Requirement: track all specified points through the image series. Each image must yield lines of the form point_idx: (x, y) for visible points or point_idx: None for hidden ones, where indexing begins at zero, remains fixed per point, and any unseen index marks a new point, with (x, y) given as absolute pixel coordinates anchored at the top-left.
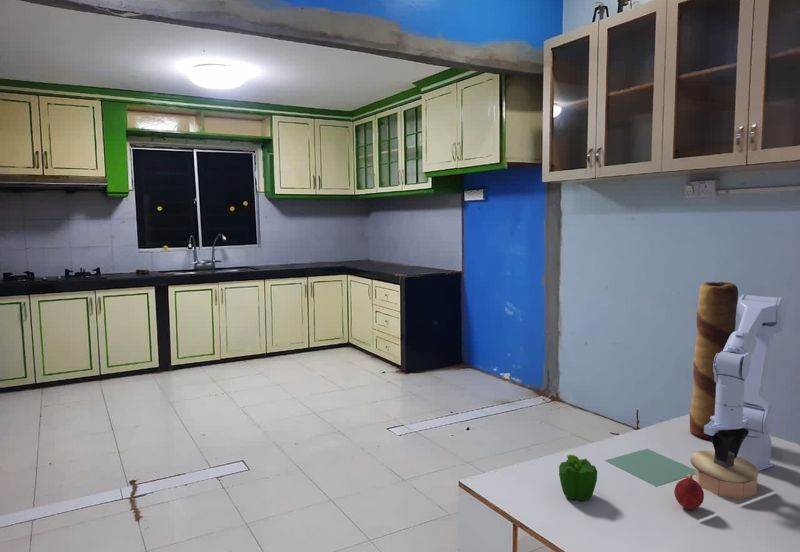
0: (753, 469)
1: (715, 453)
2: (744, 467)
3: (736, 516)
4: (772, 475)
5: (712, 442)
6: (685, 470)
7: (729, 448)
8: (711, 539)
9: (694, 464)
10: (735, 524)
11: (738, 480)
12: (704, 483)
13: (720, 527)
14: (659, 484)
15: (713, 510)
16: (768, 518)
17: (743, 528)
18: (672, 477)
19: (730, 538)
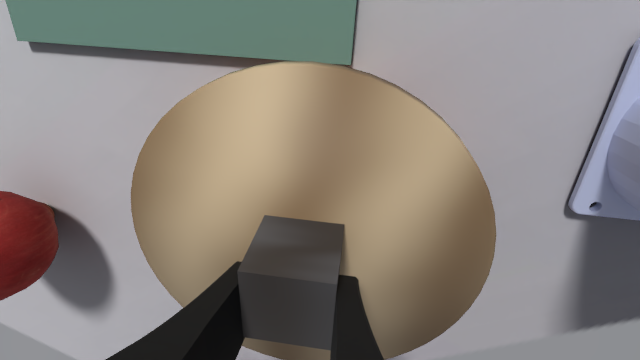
0: (387, 344)
1: (217, 279)
2: (369, 317)
3: (164, 303)
4: (625, 260)
5: (142, 339)
6: (295, 2)
7: (333, 338)
8: (11, 310)
9: (139, 162)
10: (126, 316)
11: None
12: None
13: (74, 301)
14: (44, 36)
15: (126, 254)
16: (241, 351)
17: (130, 333)
18: (157, 21)
19: (61, 332)
